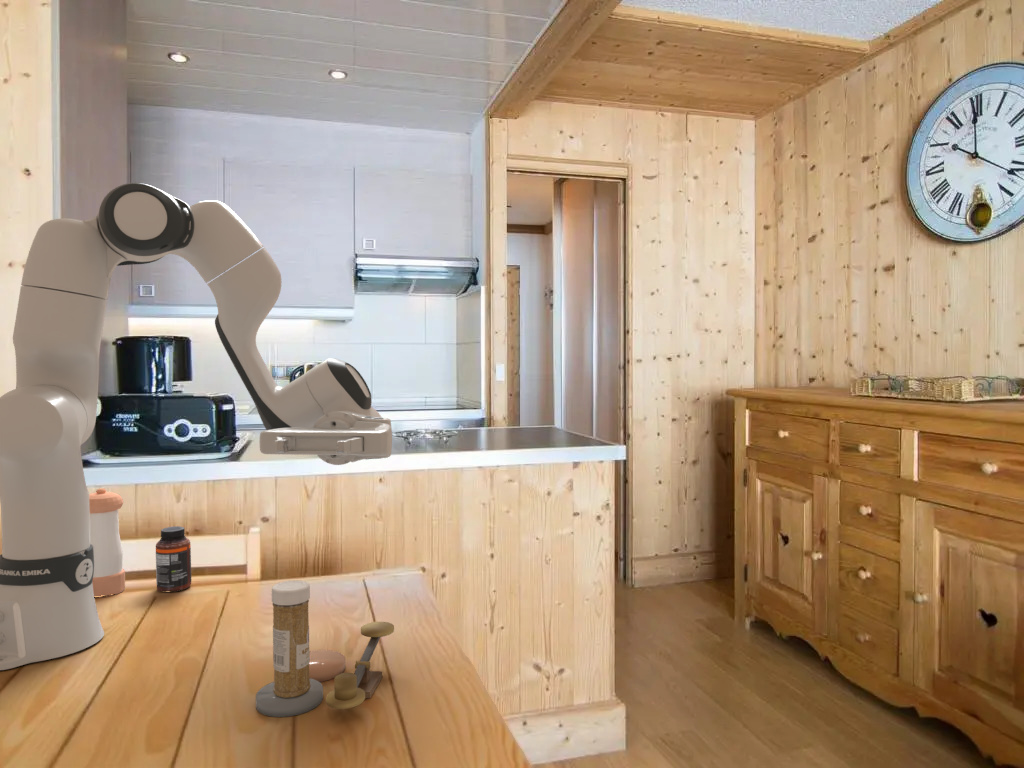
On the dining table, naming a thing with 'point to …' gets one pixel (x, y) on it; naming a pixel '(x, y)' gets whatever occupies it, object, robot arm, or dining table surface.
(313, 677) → the peach oval pebble
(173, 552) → the supplement bottle
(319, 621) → the dining table surface
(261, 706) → the grey oval pebble
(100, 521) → the pepper shaker
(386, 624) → the balance
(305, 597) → the spice jar
